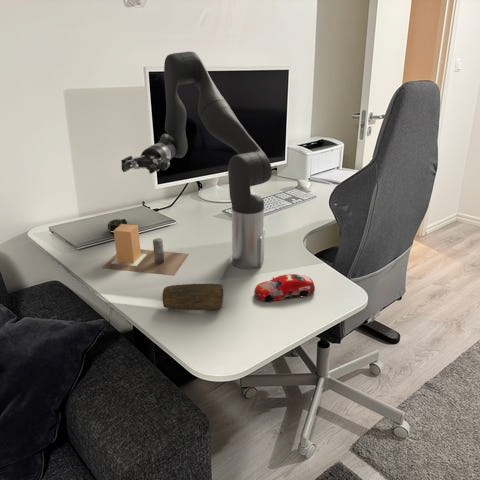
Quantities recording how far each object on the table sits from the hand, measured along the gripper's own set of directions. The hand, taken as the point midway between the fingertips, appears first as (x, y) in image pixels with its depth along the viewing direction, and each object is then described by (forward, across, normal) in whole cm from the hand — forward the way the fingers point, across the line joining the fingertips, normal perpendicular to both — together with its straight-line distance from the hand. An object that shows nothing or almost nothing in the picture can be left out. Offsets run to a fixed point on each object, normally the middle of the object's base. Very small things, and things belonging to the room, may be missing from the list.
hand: (136, 169), depth 137 cm
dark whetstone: (+30, +26, +26) cm, 48 cm away
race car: (+19, +47, +26) cm, 58 cm away
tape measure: (-12, -14, +26) cm, 32 cm away
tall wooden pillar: (+11, 0, +24) cm, 27 cm away
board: (+11, +6, +26) cm, 29 cm away
